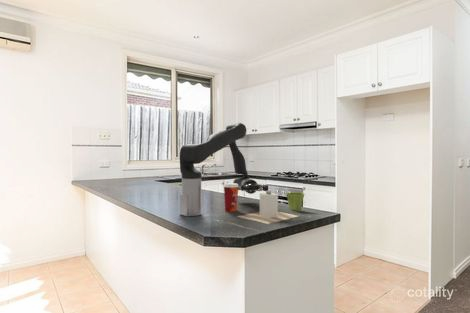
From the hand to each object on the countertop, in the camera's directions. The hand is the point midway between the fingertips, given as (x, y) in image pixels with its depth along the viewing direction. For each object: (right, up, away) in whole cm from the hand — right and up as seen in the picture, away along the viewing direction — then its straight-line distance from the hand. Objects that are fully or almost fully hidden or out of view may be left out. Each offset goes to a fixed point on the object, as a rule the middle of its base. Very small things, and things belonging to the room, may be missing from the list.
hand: (257, 189), depth 140 cm
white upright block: (+4, -11, -11) cm, 16 cm away
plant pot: (+20, -12, +6) cm, 24 cm away
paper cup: (-13, -12, +1) cm, 18 cm away
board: (+4, -12, -11) cm, 17 cm away
